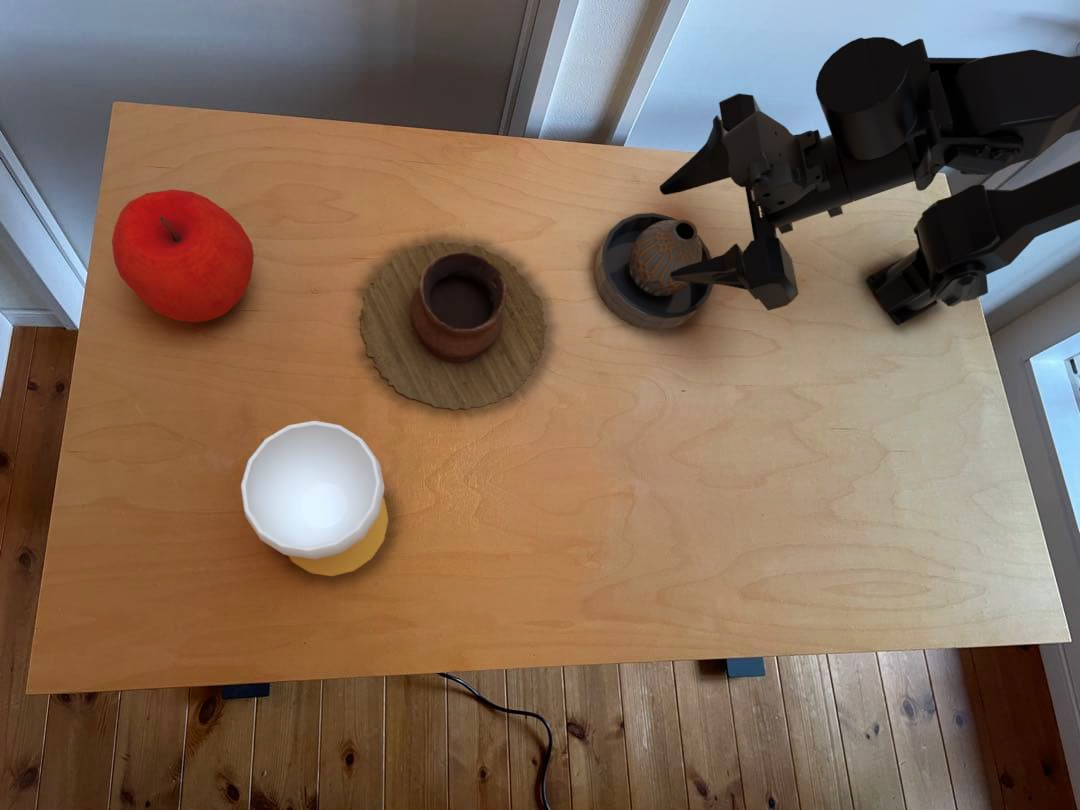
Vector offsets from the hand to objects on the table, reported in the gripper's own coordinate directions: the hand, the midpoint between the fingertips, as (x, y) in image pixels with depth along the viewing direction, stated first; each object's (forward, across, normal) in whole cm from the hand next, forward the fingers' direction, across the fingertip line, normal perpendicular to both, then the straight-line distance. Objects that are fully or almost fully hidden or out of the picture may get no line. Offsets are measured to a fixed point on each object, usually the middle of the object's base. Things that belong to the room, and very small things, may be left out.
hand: (666, 233), depth 63 cm
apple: (+36, +4, -23) cm, 43 cm away
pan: (+5, 0, +7) cm, 9 cm away
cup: (+27, +25, -15) cm, 40 cm away
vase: (+5, 0, +7) cm, 8 cm away
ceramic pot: (+20, +6, -7) cm, 22 cm away
